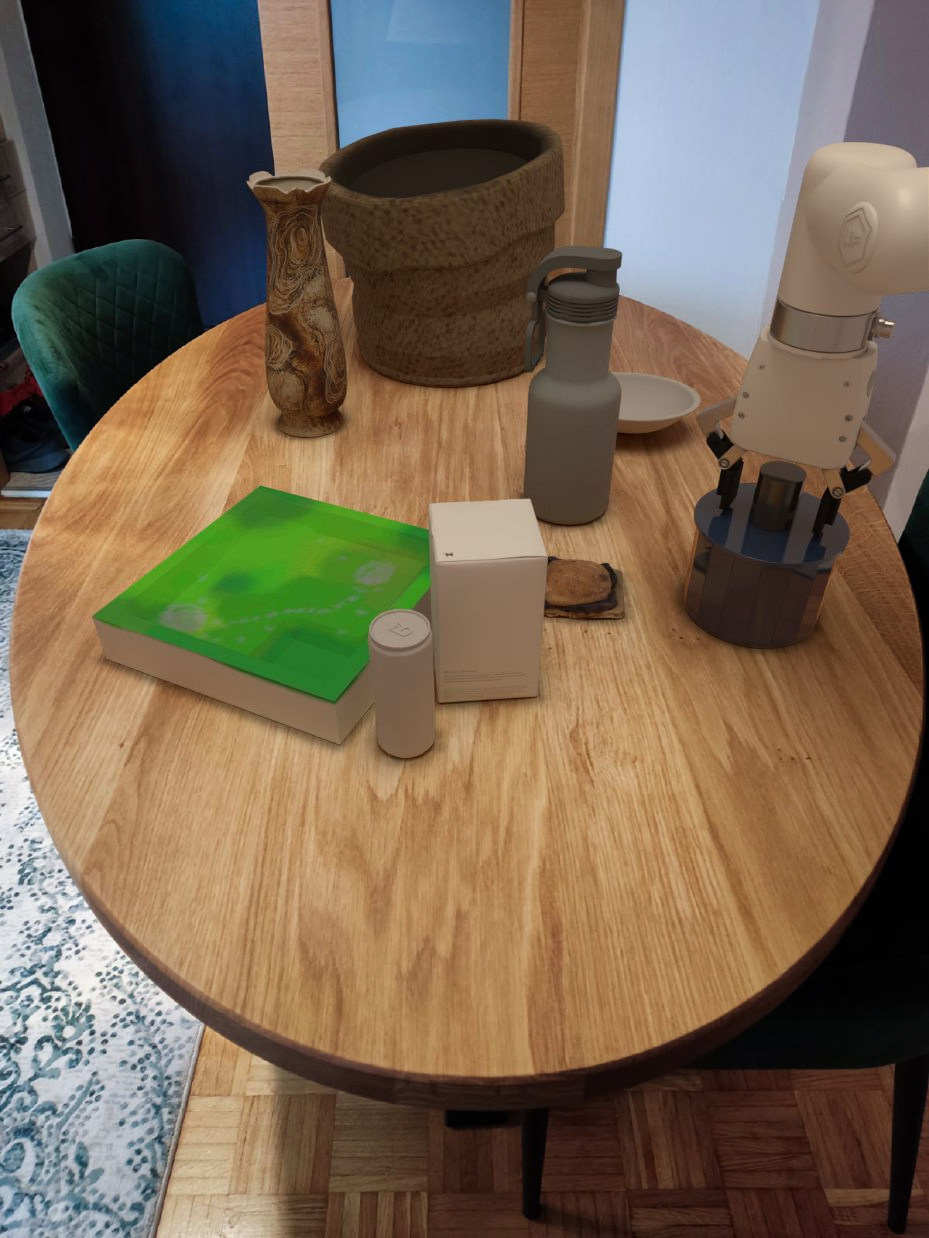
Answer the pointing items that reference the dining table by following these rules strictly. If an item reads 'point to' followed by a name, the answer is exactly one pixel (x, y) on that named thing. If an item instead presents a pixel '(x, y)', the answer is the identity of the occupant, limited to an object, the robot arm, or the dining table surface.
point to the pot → (445, 243)
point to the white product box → (486, 598)
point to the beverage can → (402, 681)
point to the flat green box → (274, 609)
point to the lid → (771, 521)
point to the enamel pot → (752, 597)
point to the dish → (652, 402)
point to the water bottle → (572, 385)
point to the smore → (583, 589)
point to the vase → (300, 305)
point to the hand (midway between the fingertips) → (772, 514)
